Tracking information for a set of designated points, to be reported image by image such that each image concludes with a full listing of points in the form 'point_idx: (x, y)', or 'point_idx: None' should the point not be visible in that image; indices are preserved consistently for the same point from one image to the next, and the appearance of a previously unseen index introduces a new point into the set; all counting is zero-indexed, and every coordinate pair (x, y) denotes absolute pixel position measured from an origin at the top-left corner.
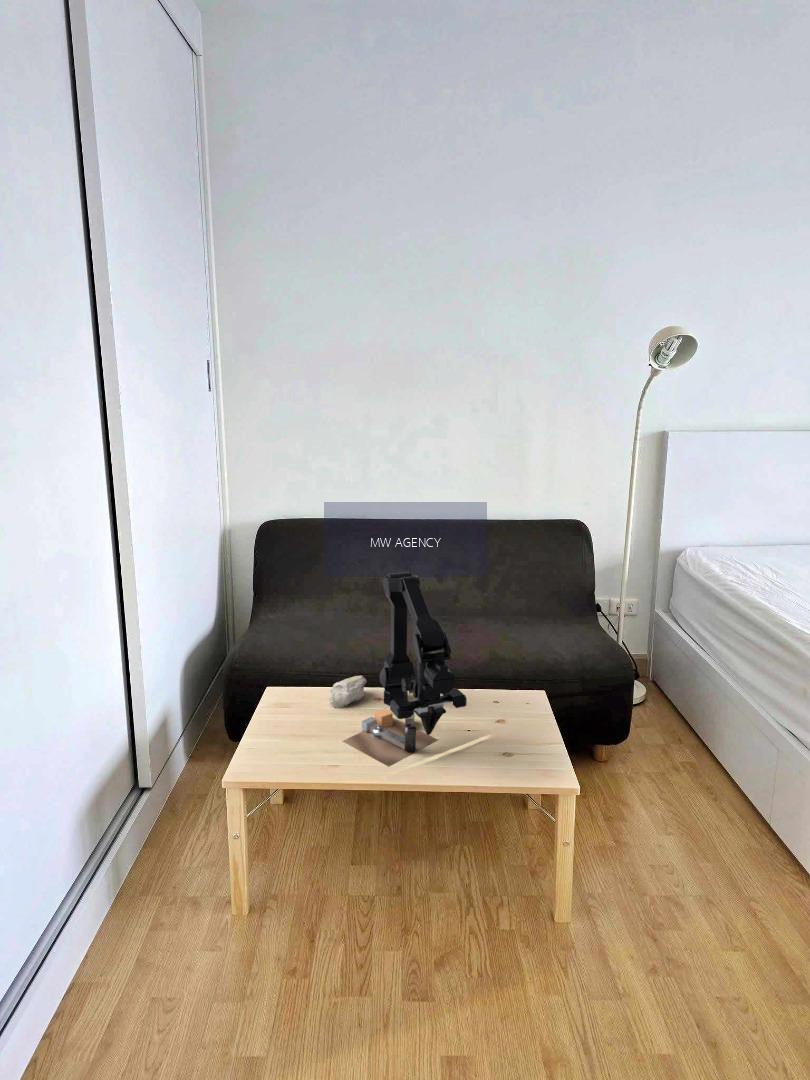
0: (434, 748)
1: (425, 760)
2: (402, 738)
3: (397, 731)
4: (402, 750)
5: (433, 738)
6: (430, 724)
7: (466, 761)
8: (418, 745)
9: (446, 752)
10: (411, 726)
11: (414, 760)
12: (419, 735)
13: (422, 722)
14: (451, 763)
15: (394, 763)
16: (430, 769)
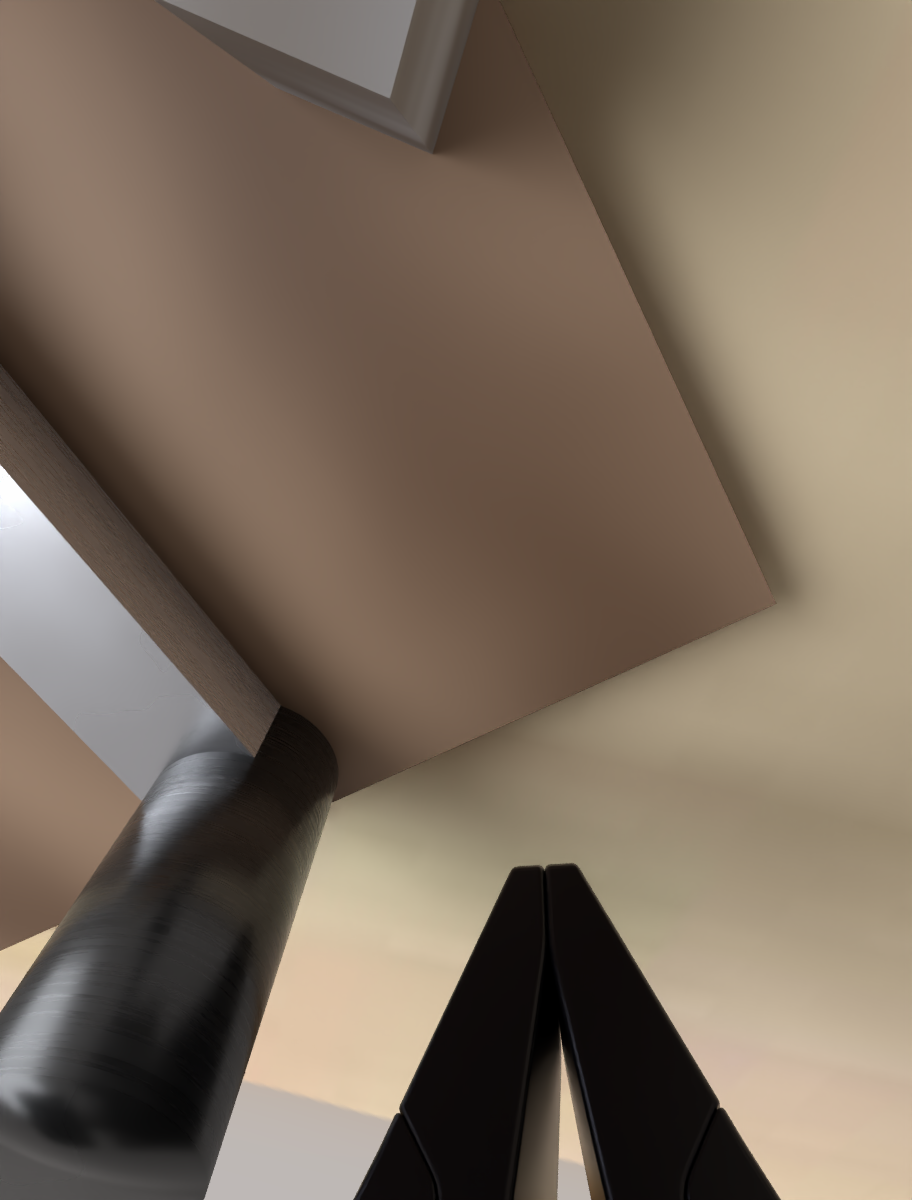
0: (635, 683)
1: (433, 868)
2: (124, 645)
3: (108, 91)
4: None
5: (711, 552)
6: (591, 1193)
7: (858, 983)
8: (408, 676)
9: (742, 798)
10: (98, 1163)
11: None
12: (512, 386)
13: (412, 1112)
14: (685, 972)
15: (58, 922)
16: (437, 994)
